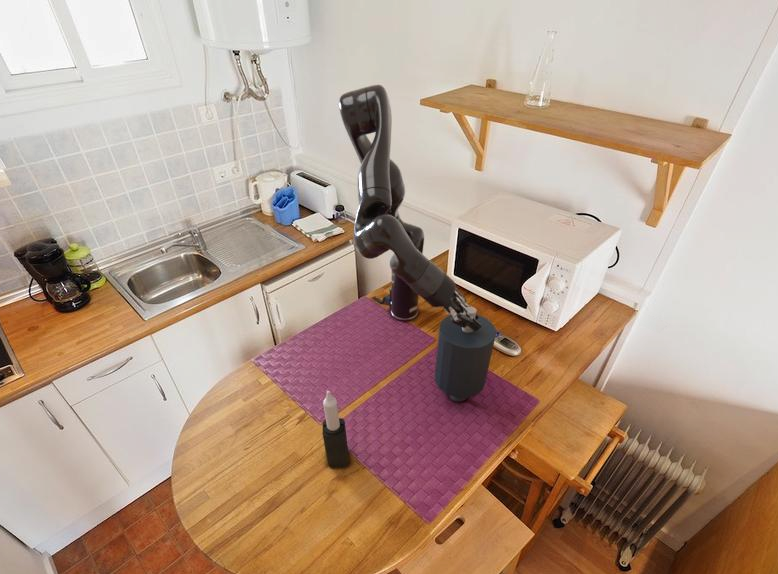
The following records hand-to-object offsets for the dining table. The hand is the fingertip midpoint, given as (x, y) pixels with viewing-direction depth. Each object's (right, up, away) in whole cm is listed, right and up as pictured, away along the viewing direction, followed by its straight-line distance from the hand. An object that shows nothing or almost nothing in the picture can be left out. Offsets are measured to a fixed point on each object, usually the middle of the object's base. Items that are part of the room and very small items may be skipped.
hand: (476, 323), depth 105 cm
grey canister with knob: (-2, -15, +13) cm, 20 cm away
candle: (-34, -34, +2) cm, 48 cm away
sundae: (-2, -20, +17) cm, 26 cm away
